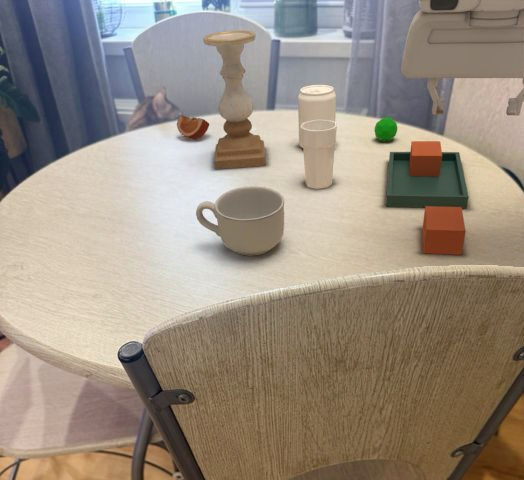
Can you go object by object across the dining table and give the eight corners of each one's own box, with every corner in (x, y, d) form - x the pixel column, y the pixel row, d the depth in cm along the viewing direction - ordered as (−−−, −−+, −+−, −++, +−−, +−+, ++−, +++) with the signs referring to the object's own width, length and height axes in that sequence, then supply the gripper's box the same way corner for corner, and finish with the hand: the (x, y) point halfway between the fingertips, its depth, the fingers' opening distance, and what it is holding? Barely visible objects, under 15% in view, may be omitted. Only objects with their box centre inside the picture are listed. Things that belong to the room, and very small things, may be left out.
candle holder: (264, 148, 122) (256, 28, 107) (266, 165, 114) (258, 37, 98) (216, 151, 122) (202, 32, 107) (214, 169, 114) (199, 42, 99)
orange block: (457, 230, 86) (461, 207, 84) (461, 254, 80) (465, 230, 78) (422, 229, 87) (425, 206, 85) (423, 253, 81) (426, 229, 79)
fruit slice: (173, 138, 132) (169, 117, 128) (192, 131, 135) (189, 110, 132) (197, 144, 127) (194, 122, 124) (216, 136, 131) (214, 114, 128)
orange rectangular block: (437, 161, 107) (440, 141, 105) (439, 176, 102) (442, 155, 99) (409, 161, 109) (411, 141, 106) (409, 176, 103) (411, 155, 100)
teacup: (294, 234, 89) (292, 188, 84) (274, 267, 81) (271, 218, 76) (217, 227, 93) (211, 182, 88) (191, 257, 85) (183, 210, 80)
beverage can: (336, 151, 117) (337, 92, 110) (299, 153, 118) (298, 95, 110) (333, 139, 124) (334, 83, 116) (298, 141, 124) (297, 85, 116)
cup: (342, 184, 103) (344, 125, 96) (314, 193, 101) (314, 133, 94) (322, 174, 108) (322, 117, 101) (295, 182, 105) (293, 125, 98)
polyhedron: (373, 143, 119) (374, 121, 116) (374, 136, 123) (375, 115, 120) (395, 144, 118) (398, 121, 115) (396, 136, 122) (398, 114, 119)
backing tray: (457, 162, 108) (459, 152, 107) (466, 208, 92) (468, 197, 90) (389, 161, 111) (389, 151, 109) (385, 206, 94) (386, 195, 93)
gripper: (591, -18, 62) (555, 107, 71) (409, -12, 66) (398, 106, 75) (603, -12, 57) (564, 122, 66) (407, -5, 62) (395, 119, 71)
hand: (474, 113), depth 71 cm, fingers open, 8 cm apart
